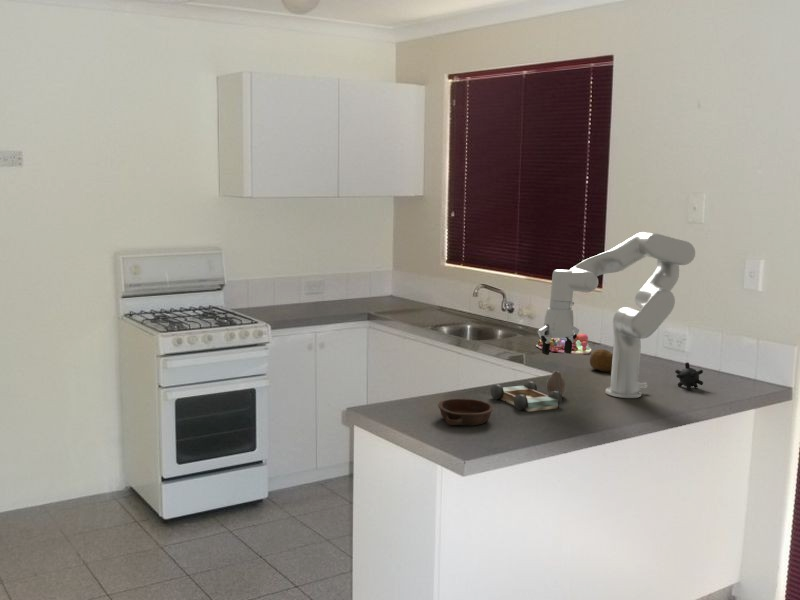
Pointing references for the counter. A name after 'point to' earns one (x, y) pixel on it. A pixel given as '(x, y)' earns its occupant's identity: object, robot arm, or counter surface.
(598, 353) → the potato
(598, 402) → the counter surface
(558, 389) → the brown ovoid
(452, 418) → the dish
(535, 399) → the cart chassis
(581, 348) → the pastel sphere sculpture
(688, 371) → the toy ball
